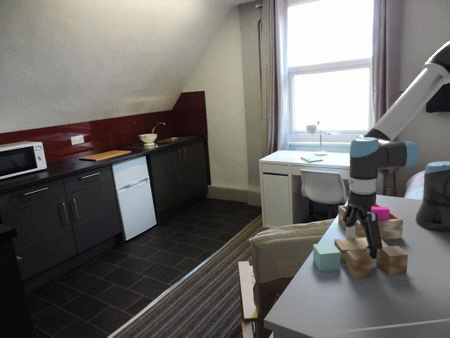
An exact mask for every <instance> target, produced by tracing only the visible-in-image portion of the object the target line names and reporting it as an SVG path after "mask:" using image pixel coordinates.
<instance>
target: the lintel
mask: <svg viewBox="0 0 450 338" xmlns="http://www.w3.org/2000/svg"><path fill="white" fill-rule="evenodd" d="M381 241H382V246H383V247H390V246H389V245H388V244H387V243H386V242H385V240H382V239H381ZM333 244H334V245H335V246H336V247H337V249H338V250H339V251H340V264H346V251H351V250H360V249H364V250H365V251H367V248H366V247H367V246H368V243H367V239H366V237H365V238H349V239H346V238H337V239H334V241H333ZM376 261H380V249H377V260H376Z"/></svg>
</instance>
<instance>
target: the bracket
mask: <svg viewBox="0 0 450 338" xmlns="http://www.w3.org/2000/svg"><path fill="white" fill-rule="evenodd" d="M371 211H372V213H377V214H378V221H381V220H383V219H389V211H390V208H389V207H388V206H383V207H371ZM366 222H367V221H366Z"/></svg>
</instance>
